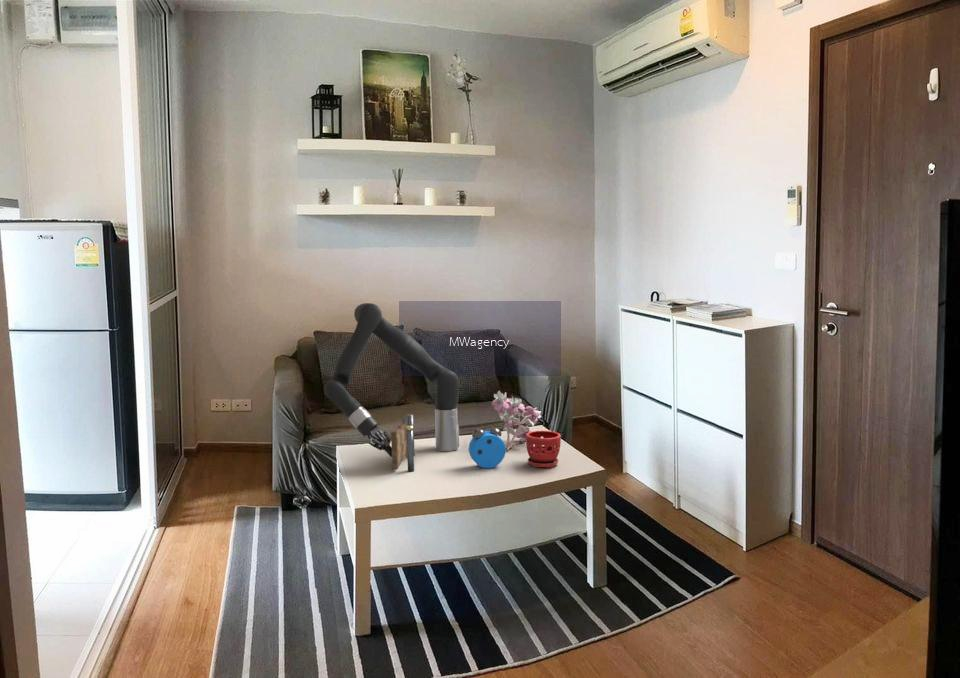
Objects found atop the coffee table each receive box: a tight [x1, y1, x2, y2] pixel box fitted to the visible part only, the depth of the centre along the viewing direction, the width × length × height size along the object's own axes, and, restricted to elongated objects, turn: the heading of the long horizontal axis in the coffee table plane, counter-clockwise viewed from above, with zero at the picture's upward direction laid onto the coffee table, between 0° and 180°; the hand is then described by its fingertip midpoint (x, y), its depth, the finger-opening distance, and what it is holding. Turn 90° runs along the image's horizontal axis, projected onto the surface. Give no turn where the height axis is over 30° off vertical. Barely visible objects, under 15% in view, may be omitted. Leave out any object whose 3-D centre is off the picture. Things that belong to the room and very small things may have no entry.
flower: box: [491, 390, 542, 451], centre depth 297 cm, size 20×22×25 cm
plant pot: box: [525, 430, 562, 468], centre depth 271 cm, size 13×13×12 cm
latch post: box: [406, 425, 415, 473], centre depth 266 cm, size 3×3×17 cm
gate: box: [390, 418, 407, 471], centre depth 274 cm, size 19×2×15 cm, turn 173°
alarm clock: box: [468, 427, 507, 469], centre depth 269 cm, size 13×6×15 cm, turn 107°
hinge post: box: [406, 413, 416, 456], centre depth 284 cm, size 3×3×17 cm
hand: (393, 455), depth 269 cm, fingers closed
